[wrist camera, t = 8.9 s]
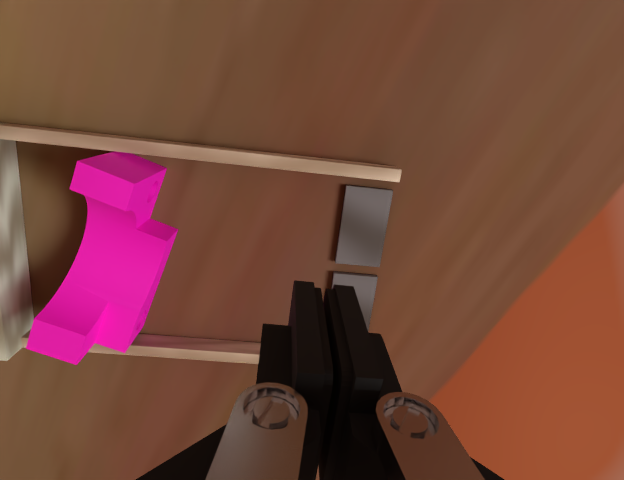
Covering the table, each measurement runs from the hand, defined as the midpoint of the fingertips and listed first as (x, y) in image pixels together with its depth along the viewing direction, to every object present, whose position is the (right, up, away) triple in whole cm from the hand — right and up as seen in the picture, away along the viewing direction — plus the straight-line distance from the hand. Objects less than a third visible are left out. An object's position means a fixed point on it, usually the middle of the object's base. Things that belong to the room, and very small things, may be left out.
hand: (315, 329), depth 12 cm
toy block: (-16, +2, +25) cm, 29 cm away
